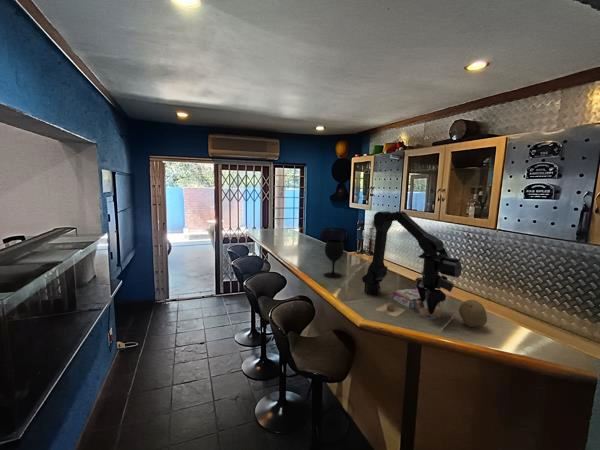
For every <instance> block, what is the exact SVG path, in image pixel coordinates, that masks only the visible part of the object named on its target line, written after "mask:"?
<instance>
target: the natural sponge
mask: <svg viewBox="0 0 600 450" xmlns="http://www.w3.org/2000/svg"><path fill="white" fill-rule="evenodd" d="M458 308H459V309H458V314H459V317H461V319H462V321H463V322H464V323H465V325H467V326H468V327H470V328H476V327H481V326H485V325H486V324H487V322H488V315H487V312H486V309H485V307H484V305H483V304H482V303H481V302H479V301H477V300H475V299H468V300H465V301H463V302H462V303H461V304H460V306H459V307H458Z"/></svg>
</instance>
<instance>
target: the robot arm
mask: <svg viewBox="0 0 600 450" xmlns="http://www.w3.org/2000/svg"><path fill="white" fill-rule="evenodd" d="M393 222H398V223H399V224H400V225H401V226H402V227H403V228H404V229H405V230H406V231H407V232H408V233H409V234H410V235H411V236H412V237H413V238H414V239H415V240H416V241H417V243H418V246H419V247H420V249H421V250H422V251H423V252H422V253H421V254H419V255H418V258H420V259H423V266H422V271H420V275H422V277H416V278H415V279H414V280H415V281H414V284H415V288H417V290H418V293H419V296H420V298H421V301H425V299H426V303H427V306H428V310H429V313H430V314H433V312H434V310H435V308H436V306H438V305H437V304H438V303H439V302H440V303H441V302H442V303H443V302H444V301H446V300H447V299H446V297H447V295H446V293H444V291H442V290H441V289H443V290H446V291H447V292H449V293H450V292H452V290H453V288H454V286H455V284H454V283H453V282H452V281H450V280H449V279H448V277H447V276H449V277H452V278H455V279H456V278H459V277H460V276H461V274H462V271H463V266H462V262H461V259H460V258H455V257H454V258H453V257H450V255H449V254H448V252H447V250H446V249H445V246H444V245H445V244H444V242H443V241H442V240H441V239H439V238H438V237H436V236H435V235H432V234H431V233H428V232H427V231H426V230H425V229H423V228H422V227H421V226H420V225H419V224H418V223H417V222H416V221H415V220H413V219H412V218H411V217H410V216H409V215H408V214H407V212H405V211H404V210H402V211H401V210H400V211H395V212H390V211H388V210H386V211H377V212H376V213H374V214H373V226H374V228H375V237H374V238H375V239H374V245H373V246H374V247H373V253H372V255H373V256H372V261H371V262H370V264H369V265H368V268H367V272H366V273H365V274H364V275H363V276H362V277H361V281H362V283H364V287H363V288H364V289H363V291H364V293H365V294H367V295H370V296H371V295H372V296H379V295H381V282H383V280H384V278H386V276H387V275H388V267H389V266H387V265H385V261H384V259H385V252H386V246H387V239H388V238H387V237H388V232H389V231H390V228H391V227H392V224H393ZM439 273H440V274H439Z"/></svg>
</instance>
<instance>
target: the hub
mask: <svg viewBox="0 0 600 450" xmlns="http://www.w3.org/2000/svg"><path fill="white" fill-rule="evenodd" d="M423 307H428V306H427V303H426V299H425V301H424V302H423ZM413 313H414V314H415V315H416V316H417V317H418V316H419V317H421V318H423V319H428V320H436V319H437V320H438V319H440V318H441V317H442V314H441V313H440V317H436V316H422V315H420V314H419V313H418V311H417V310H416V308H413Z"/></svg>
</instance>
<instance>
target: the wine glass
mask: <svg viewBox="0 0 600 450" xmlns="http://www.w3.org/2000/svg"><path fill="white" fill-rule="evenodd" d="M324 253H325V255H326V258H327V259H328V260H329V261H331V263H332V267H331V268H332V270H331V272H324V274H323V276H324V277H325V278H329V279H341V278H343V274H341V273H338V272H335V263H336V262H338V261H339V260H340V259H341V258H342V256H343V254H344V242H343V240H339V239H327V240H326V242H325V246H324Z"/></svg>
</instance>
